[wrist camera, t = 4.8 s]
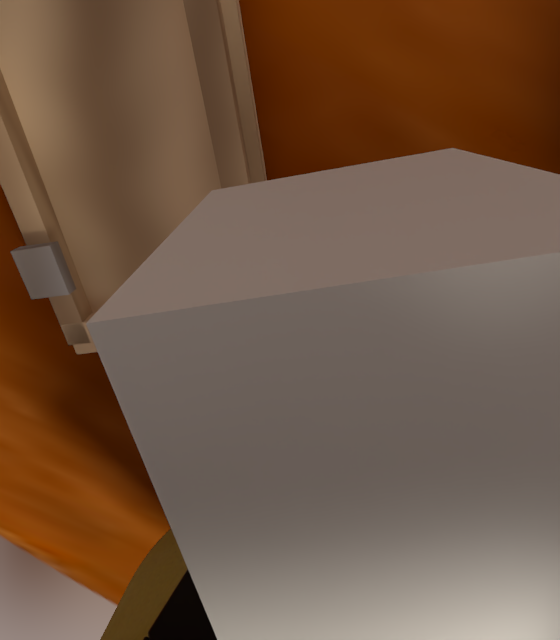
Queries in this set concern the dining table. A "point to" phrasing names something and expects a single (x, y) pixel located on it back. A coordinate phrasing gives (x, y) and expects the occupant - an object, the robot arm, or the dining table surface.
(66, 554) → the dining table surface
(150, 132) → the beige rectangular tray
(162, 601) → the flower pot
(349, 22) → the dining table surface
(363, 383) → the door
